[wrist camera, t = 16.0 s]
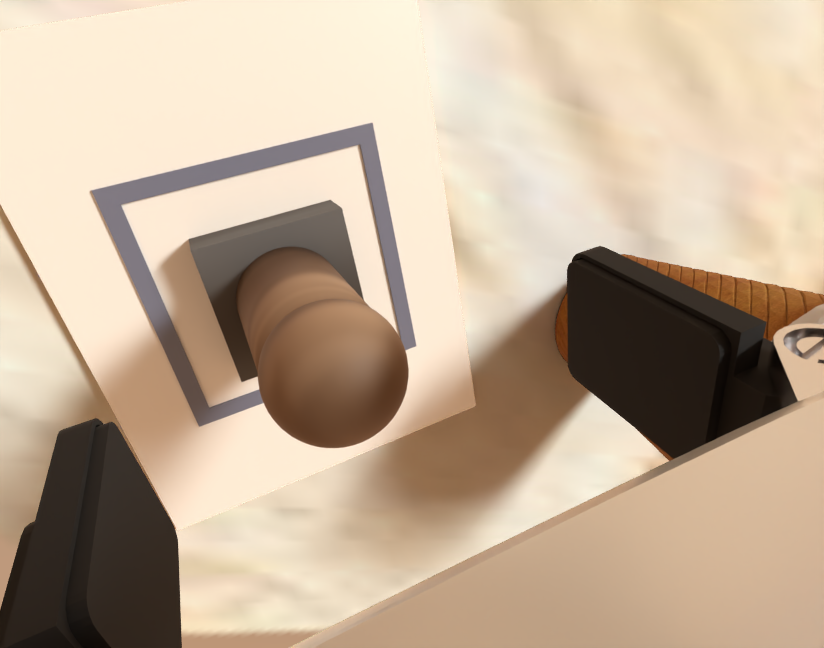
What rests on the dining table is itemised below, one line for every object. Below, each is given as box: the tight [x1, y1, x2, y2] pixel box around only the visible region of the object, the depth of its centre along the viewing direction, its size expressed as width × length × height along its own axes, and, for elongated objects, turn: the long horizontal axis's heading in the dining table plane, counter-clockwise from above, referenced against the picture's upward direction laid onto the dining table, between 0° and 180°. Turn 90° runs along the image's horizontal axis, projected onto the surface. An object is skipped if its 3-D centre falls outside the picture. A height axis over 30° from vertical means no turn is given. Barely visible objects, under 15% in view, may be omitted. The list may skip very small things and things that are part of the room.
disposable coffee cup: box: [555, 254, 824, 461], centre depth 22 cm, size 10×10×12 cm
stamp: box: [189, 200, 409, 448], centre depth 16 cm, size 5×5×9 cm
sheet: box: [0, 0, 476, 531], centre depth 20 cm, size 18×14×1 cm
